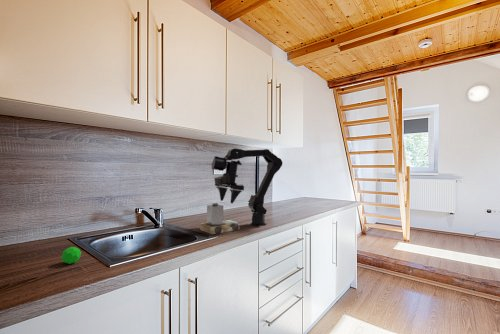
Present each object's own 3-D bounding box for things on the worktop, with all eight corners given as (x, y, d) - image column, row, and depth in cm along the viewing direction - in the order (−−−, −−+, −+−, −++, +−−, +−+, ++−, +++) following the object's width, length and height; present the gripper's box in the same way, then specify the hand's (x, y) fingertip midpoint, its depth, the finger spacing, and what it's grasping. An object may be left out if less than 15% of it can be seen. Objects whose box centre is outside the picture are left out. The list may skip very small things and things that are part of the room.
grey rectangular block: (217, 226, 126) (218, 202, 126) (223, 228, 121) (223, 203, 121) (206, 227, 123) (207, 203, 123) (211, 230, 118) (212, 204, 118)
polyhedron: (80, 263, 78) (81, 248, 78) (61, 267, 75) (61, 251, 75) (80, 259, 82) (80, 244, 82) (61, 262, 79) (62, 247, 79)
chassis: (226, 225, 134) (226, 219, 134) (240, 229, 124) (240, 223, 124) (198, 229, 123) (198, 223, 123) (212, 234, 113) (212, 227, 113)
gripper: (208, 169, 132) (204, 198, 131) (228, 171, 118) (223, 203, 117) (225, 172, 139) (221, 199, 138) (246, 174, 125) (242, 205, 124)
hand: (226, 201), depth 129 cm, fingers open, 9 cm apart
